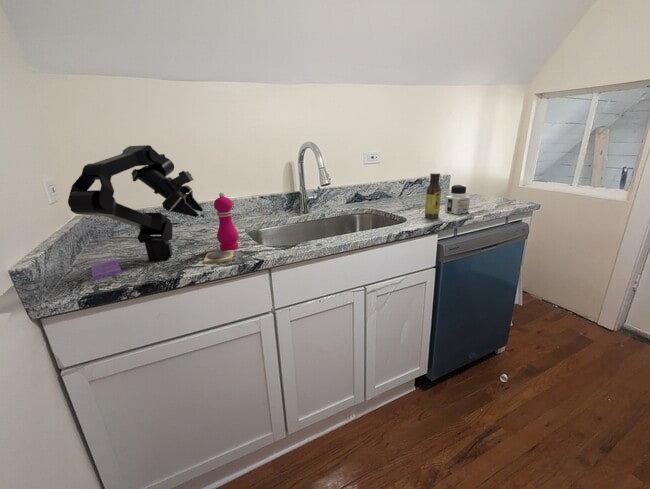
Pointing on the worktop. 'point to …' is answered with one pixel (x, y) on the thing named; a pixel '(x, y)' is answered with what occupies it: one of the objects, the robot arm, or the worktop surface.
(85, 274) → the worktop surface
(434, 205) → the sauce bottle
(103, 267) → the sponges
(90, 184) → the robot arm
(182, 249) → the worktop surface
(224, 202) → the pepper mill
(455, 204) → the container
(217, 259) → the dock
